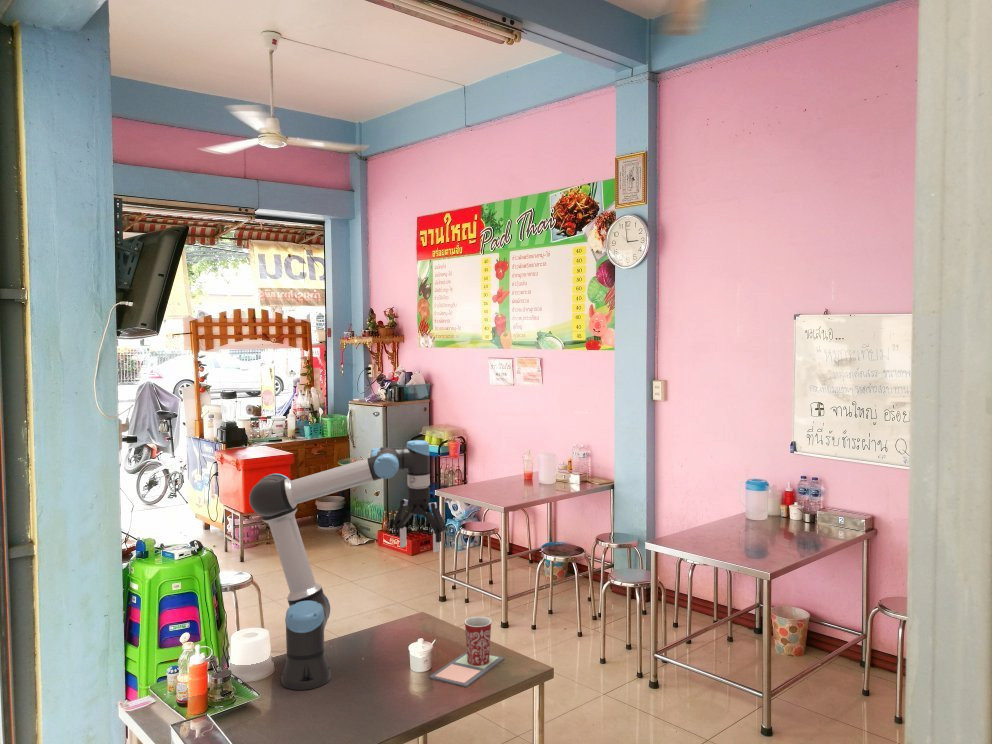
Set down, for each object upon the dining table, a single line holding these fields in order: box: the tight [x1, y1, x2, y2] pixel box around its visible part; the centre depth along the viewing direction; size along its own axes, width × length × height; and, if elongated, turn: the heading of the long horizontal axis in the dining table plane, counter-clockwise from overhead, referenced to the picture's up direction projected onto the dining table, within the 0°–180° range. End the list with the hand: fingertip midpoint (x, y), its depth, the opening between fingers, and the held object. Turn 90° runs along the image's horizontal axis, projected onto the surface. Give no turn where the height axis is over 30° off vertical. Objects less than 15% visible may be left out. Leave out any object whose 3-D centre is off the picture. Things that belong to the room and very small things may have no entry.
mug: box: [464, 616, 493, 666], centre depth 256 cm, size 13×9×14 cm
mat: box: [428, 650, 505, 689], centre depth 250 cm, size 14×24×1 cm, turn 151°
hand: (419, 549), depth 259 cm, fingers open, 13 cm apart
